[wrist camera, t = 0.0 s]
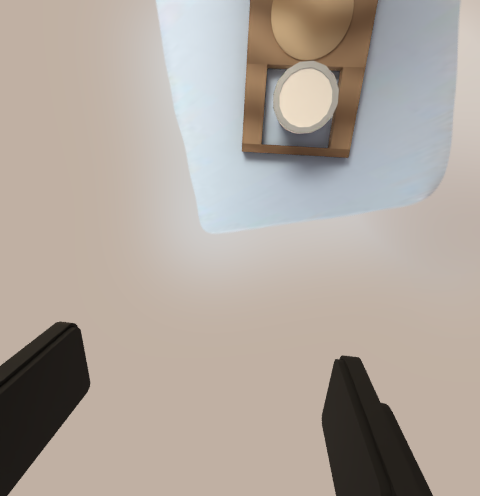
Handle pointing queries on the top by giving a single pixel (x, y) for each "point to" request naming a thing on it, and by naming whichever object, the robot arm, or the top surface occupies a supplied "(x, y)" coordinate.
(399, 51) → the top surface
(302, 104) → the cream short cylinder
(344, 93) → the pocket board
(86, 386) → the robot arm
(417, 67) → the top surface
